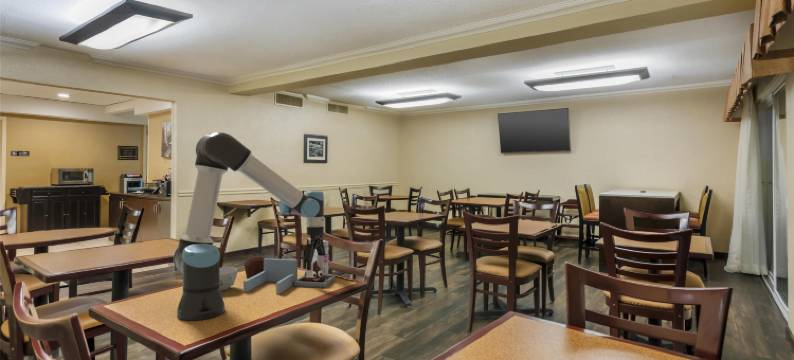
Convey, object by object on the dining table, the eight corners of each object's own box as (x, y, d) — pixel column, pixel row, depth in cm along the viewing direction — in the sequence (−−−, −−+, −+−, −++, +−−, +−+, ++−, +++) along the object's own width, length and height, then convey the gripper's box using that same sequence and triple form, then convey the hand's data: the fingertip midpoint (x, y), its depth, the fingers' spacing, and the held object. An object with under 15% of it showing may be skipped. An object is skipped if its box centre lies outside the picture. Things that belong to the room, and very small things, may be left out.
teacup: (199, 289, 176) (199, 270, 176) (226, 283, 187) (226, 265, 186) (219, 296, 168) (219, 276, 168) (247, 289, 178) (247, 270, 178)
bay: (278, 294, 171) (278, 269, 171) (243, 292, 174) (243, 267, 173) (297, 281, 190) (297, 259, 190) (265, 280, 192) (265, 258, 192)
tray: (324, 288, 180) (324, 283, 180) (293, 286, 183) (293, 281, 183) (335, 279, 194) (335, 275, 194) (306, 278, 197) (306, 273, 196)
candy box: (329, 275, 202) (329, 241, 202) (317, 277, 199) (317, 242, 198) (317, 269, 213) (317, 237, 213) (306, 271, 210) (306, 238, 210)
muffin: (274, 276, 199) (274, 255, 199) (255, 281, 190) (255, 259, 189) (257, 273, 205) (257, 252, 205) (238, 278, 196) (238, 256, 195)
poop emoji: (320, 278, 195) (320, 257, 195) (328, 282, 188) (328, 261, 187) (299, 281, 189) (300, 260, 189) (306, 285, 182) (307, 264, 182)
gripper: (313, 230, 175) (313, 281, 175) (332, 222, 200) (331, 267, 200) (296, 229, 176) (295, 280, 177) (316, 222, 201) (316, 266, 201)
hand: (315, 273), depth 188 cm, fingers open, 13 cm apart
